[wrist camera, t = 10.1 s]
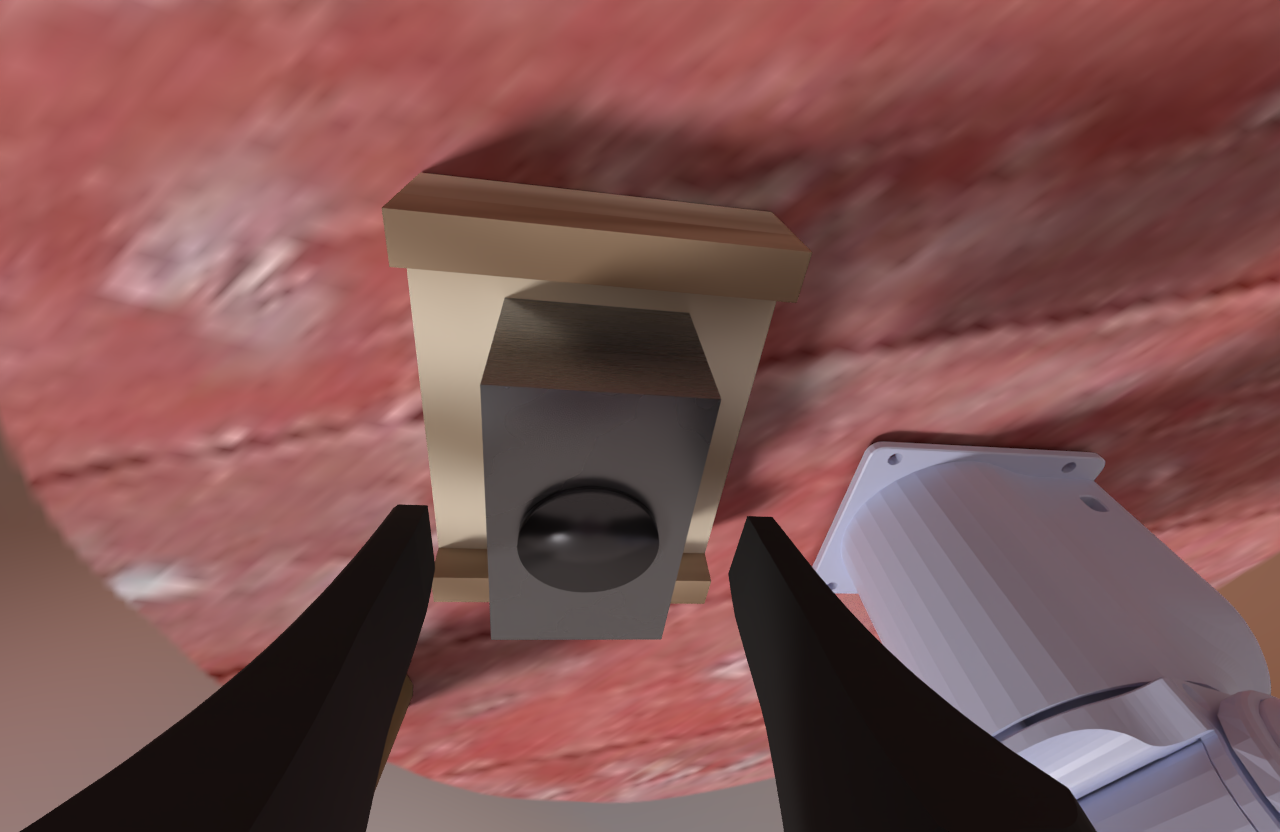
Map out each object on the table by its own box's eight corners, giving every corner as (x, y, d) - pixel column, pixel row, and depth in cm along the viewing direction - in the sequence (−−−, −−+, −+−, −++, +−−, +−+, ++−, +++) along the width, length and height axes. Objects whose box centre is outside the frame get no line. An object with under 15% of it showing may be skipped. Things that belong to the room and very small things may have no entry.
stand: (420, 172, 14) (381, 207, 11) (771, 212, 15) (811, 252, 12) (452, 528, 21) (433, 601, 18) (689, 534, 22) (704, 603, 19)
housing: (647, 531, 19) (662, 649, 15) (507, 528, 18) (489, 650, 14) (689, 313, 14) (724, 407, 11) (504, 297, 13) (477, 393, 10)
